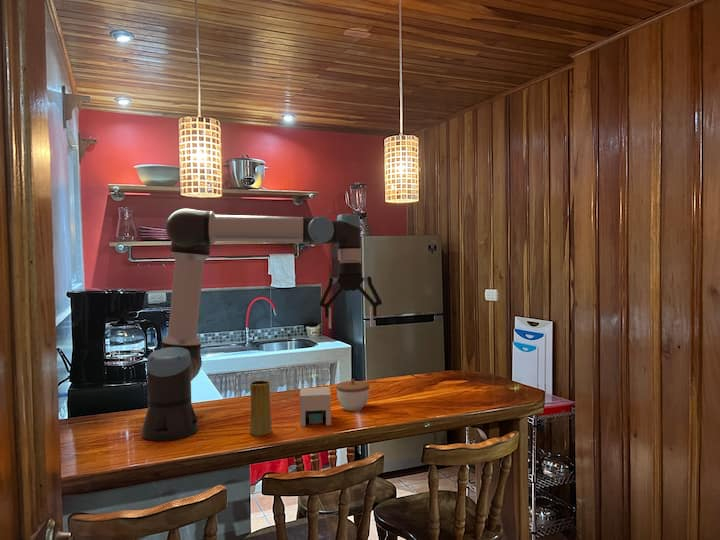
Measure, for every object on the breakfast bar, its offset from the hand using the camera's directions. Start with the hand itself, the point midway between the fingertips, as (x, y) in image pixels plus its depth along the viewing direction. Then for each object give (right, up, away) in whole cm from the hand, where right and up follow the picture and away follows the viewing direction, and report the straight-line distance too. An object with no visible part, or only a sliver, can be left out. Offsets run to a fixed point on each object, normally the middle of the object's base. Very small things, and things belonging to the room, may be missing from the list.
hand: (351, 327), depth 167 cm
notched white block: (-10, -27, -12) cm, 31 cm away
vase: (-25, -28, -22) cm, 43 cm away
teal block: (-10, -27, -12) cm, 32 cm away
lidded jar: (+1, -27, +1) cm, 27 cm away
